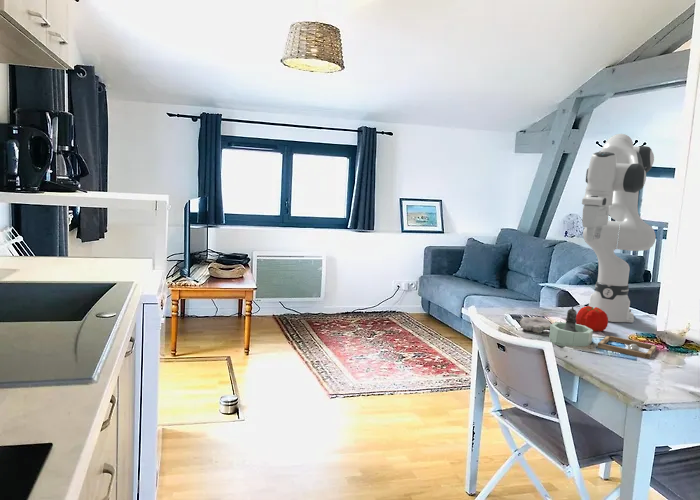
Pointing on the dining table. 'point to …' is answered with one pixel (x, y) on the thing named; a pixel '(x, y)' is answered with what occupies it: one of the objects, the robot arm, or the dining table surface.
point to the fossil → (535, 324)
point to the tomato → (592, 318)
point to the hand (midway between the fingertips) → (593, 239)
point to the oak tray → (647, 355)
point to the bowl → (570, 335)
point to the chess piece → (571, 320)
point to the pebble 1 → (633, 346)
